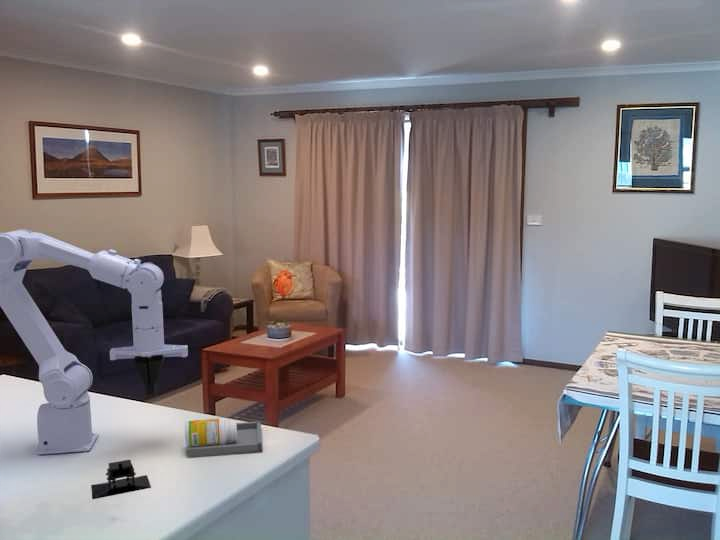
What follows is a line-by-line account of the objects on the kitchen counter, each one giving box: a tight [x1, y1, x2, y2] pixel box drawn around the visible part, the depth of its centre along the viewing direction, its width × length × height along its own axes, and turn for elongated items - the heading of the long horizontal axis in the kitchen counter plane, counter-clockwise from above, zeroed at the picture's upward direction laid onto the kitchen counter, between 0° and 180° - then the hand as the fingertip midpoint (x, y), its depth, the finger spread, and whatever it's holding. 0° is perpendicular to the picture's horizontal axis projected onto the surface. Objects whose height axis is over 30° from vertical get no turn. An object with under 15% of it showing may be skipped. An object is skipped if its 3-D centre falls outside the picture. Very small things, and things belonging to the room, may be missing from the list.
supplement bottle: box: [184, 417, 237, 450], centre depth 129 cm, size 5×5×10 cm
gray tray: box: [186, 421, 263, 458], centre depth 132 cm, size 14×12×2 cm
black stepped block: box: [90, 459, 152, 500], centre depth 113 cm, size 12×7×5 cm, turn 115°
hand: (151, 392), depth 130 cm, fingers closed
